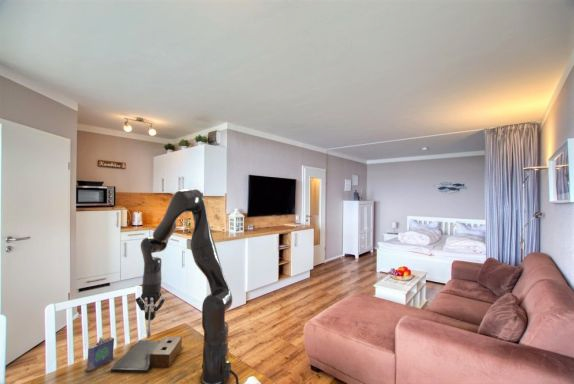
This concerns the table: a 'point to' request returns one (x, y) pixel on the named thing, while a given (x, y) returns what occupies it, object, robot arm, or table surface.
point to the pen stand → (165, 351)
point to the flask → (100, 353)
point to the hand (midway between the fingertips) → (150, 319)
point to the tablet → (137, 358)
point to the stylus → (149, 324)
